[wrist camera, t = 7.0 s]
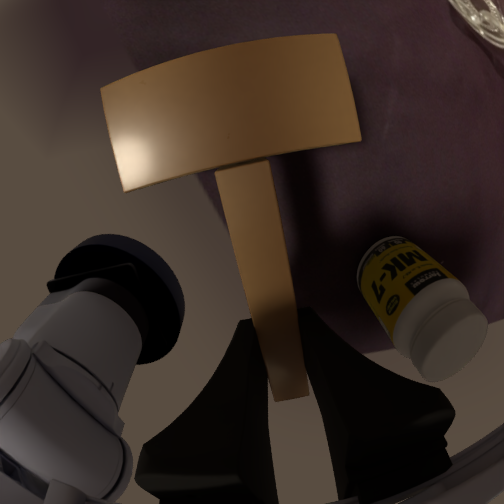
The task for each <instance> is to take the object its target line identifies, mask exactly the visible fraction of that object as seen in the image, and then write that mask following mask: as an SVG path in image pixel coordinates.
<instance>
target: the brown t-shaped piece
mask: <svg viewBox="0 0 504 504" xmlns="http://www.w3.org/2000/svg"><path fill="white" fill-rule="evenodd" d="M100 91H101V96H102V103H103V108H104V113H105V118H106V123H107V128H108V132H109V137H110V141H111V146H112V150H113V154H114V158H115V162H116V165H117V170H118V173H119V177H120V181H121V185H122V188H123V192H124V193H128V192H131V191H134V190H137V189H142V188H145V187H149V186H152V185H155V184H159V183H162V182H166V181H169V180H172V179H176V178H180V177H183V176H187V175H191V174H195V173H199V172H202V171H206V170H210V169H215V168H219V167H220V168H219V169H218V170H217V171H216V172H215V177H216V181H217V185H218V189H219V193H220V197H221V201H222V205H223V209H224V213H225V217H226V221H227V225H228V229H229V233H230V237H231V241H232V245H233V249H234V252H235V257H236V260H237V264H238V268H239V272H240V276H241V280H242V283H243V287H244V291H245V295H246V299H247V302H248V306H249V310H250V314H251V317H252V321H253V325H254V327H255V330H256V334H257V338H258V341H259V345H260V349H261V352H262V356H263V360H264V363H265V367H266V371H267V375H268V379H269V383H270V386H271V390H272V394H273V397H274V401H275V402H279V401H284V400H290V399H295V398H300V397H304V396H308V395H309V387H308V380H307V374H306V373H307V372H306V368H305V363H304V356H303V349H302V342H301V336H300V329H299V323H298V312H297V306H296V300H295V294H294V288H293V282H292V276H291V270H290V264H289V259H288V253H287V248H286V242H285V237H284V231H283V226H282V221H281V216H280V210H279V205H278V200H277V195H276V190H275V185H274V180H273V175H272V171H271V166H270V161H269V160H268V159H266V158H264V157H269V156H274V155H279V154H285V153H290V152H296V151H302V150H308V149H314V148H321V147H328V146H335V145H342V144H348V143H353V142H360V141H361V140H362V138H361V133H360V127H359V122H358V116H357V111H356V107H355V102H354V97H353V93H352V89H351V84H350V80H349V76H348V72H347V68H346V65H345V61H344V57H343V54H342V50H341V47H340V44H339V40H338V37H337V34H309V35H295V36H285V37H276V38H268V39H261V40H255V41H249V42H243V43H237V44H232V45H227V46H223V47H218V48H214V49H210V50H206V51H202V52H198V53H194V54H191V55H187V56H184V57H180V58H177V59H174V60H171V61H167V62H164V63H161V64H158V65H156V66H153V67H150V68H147V69H145V70H142V71H139V72H137V73H134V74H132V75H129V76H127V77H124V78H122V79H120V80H118V81H115V82H113V83H110V84H108V85H106V86H104V87H102V88H100ZM259 158H260V159H259ZM254 159H255V160H254ZM250 160H251V161H250ZM245 161H246V162H245ZM240 162H241V163H240ZM236 163H237V164H236ZM231 164H232V165H231ZM227 165H228V166H227ZM223 166H224V167H223Z"/></svg>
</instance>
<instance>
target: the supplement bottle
mask: <svg viewBox="0 0 504 504" xmlns="http://www.w3.org/2000/svg"><path fill="white" fill-rule="evenodd" d="M357 284H358V287H359V290H360V292H361V293H362V295H363V297H364V298H365V300H366V301H367V303H368V304H369V306H370V307H371V309H372V311H373V312H374V314H375V315H376V317H377V319H378V320H379V322H380V323H381V325H382V327H383V328H384V330H385V331H386V333H387V335H388V336H389V338H390V340H391V341H392V343H393V345H394V346H395V348H396V349H397V351H398V352H399V353H400V354H401V355H403V356H404V357H406V358H409V359H411V360H412V362H413V364H414V366H415V367H416V368H417V369H418V371H419V373H420V374H421V376H422V377H423V378H424V379H425V380H426V381H429V382H438V381H442V380H445V379H447V378H449V377H451V376H452V375H454V374H456V373H457V372H458V371H460V370H461V369H462V368H464V367H465V366H466V365H467V364H468V363H469V362H470V361H471V360H472V358H473V357H474V356H475V355H476V353H477V352H478V350H479V349H480V347H481V346H482V344H483V342H484V340H485V337H486V334H487V329H488V322H487V319H486V317H485V316H484V315H483V313H482V312H481V311H480V310H479V309H478V308H477V307H476V306H475V305H474V304H473V303H472V302H471V301H470V299H469V294H468V291H467V289H466V288H465V286H464V285H463V284H462V283H461V282H460V281H459V280H458V279H457V278H456V277H454V276H453V275H452V274H451V273H450V272H449V271H447V270H446V269H445V268H444V267H443V266H441V265H440V264H439V263H438V262H437V261H435V260H434V259H433V258H432V257H430V256H429V255H428V254H427V253H425V252H424V251H423V250H422V249H420V248H419V247H418V246H416V245H415V244H414V243H413V242H411V241H410V240H408V239H406V238H403V237H399V236H391V237H386V238H384V239H381V240H379V241H378V242H376V243H375V244H374V245H372V246H371V247H370V248H369V249H368V251H367V252H366V253H365V254H364V256H363V258H362V259H361V261H360V263H359V266H358V270H357Z"/></svg>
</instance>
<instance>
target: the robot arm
mask: <svg viewBox="0 0 504 504" xmlns="http://www.w3.org/2000/svg"><path fill="white" fill-rule="evenodd" d="M121 269H124V270H125V271H126V273H124V272H122V270H121ZM58 284H59V285H58ZM47 288H48V290H49V293H50V294H49V295H48V296H47V297H46V298H45V299H44V300H43V301H42V302H41V303H40V305H39V306H38V307H37V308H36V309H35V310H34V311H33V312H32V313H31V314H30V315H29V316H28V318H27V319H26V320H25V321H24V322H23V323H22V324H21V325H20V327H19V328H18V329H17V331H16V332H15V334H14V337H13V339H12V338H11V339H7V340H5V341H4V342H2V343H1V344H0V504H119V503H115V501H116V500H117V499H118V498H119V497H120V496H121V495H122V494H123V492H124V491H125V489H126V488H127V486H128V483H129V481H130V478H131V475H132V469H133V457H132V453H131V450H130V447H129V446H128V444H127V442H126V441H125V440H124V439H123V438H122V437H121V434H122V430H123V427H124V424H125V423H124V422H123V421H122V420H121V419H120V418H119V416H118V412H119V409H120V406H121V403H122V400H123V397H124V394H125V392H126V389H127V386H128V384H129V381H130V378H131V376H132V373H133V370H134V368H135V365H136V363H137V360H138V357H139V355H140V352H141V351H143V350H154V349H164V348H166V347H167V340H166V338H165V336H164V334H163V331H162V329H161V327H160V325H159V323H158V320H157V318H156V316H155V314H154V311H153V309H152V307H151V305H150V302H149V300H148V297H147V295H146V293H145V290H144V288H143V285H142V283H141V280H140V278H139V275H138V273H137V270H136V267H135V266H134V265H133V264H132V263H130V262H127V263H123V264H118V265H114V266H109V267H105V268H100V269H96V270H91V271H87V272H83V273H78V274H74V275H70V276H65V277H61V278H57V279H52V280H49V281H48V282H47ZM297 312H298V323H299V329H300V336H301V342H302V349H303V356H304V363H305V368H306V371H307V374H308V377H309V380H310V383H311V385H312V388H313V391H314V394H315V397H316V399H317V403H318V405H319V408H320V412H321V415H322V418H323V423H324V427H325V432H326V436H327V441H328V446H329V451H330V456H331V461H332V465H333V471H334V476H335V482H336V487H337V493H338V499H339V501H335V502H331V503H327V504H395V503H397V502H399V501H402V500H404V501H402V502H400V503H398V504H487V503H489V502H490V501H491V500H493V499H494V498H495V497H497V496H498V495H499V494H501V493H502V492H503V491H504V423H503V424H502V425H501V426H500V427H498V428H496V429H495V430H494V431H492V432H491V433H489V434H488V435H486V436H485V437H484V438H482V439H480V440H479V441H477V442H476V443H474V444H473V445H471V446H469V447H468V448H466V449H464V450H463V451H461V452H459V453H457V454H456V455H454V456H452V457H449V455H448V453H447V451H446V449H445V447H447V441H446V439H445V438H444V435H445V433H446V432H447V430H448V429H449V427H450V426H451V424H452V422H453V420H454V417H455V410H454V408H453V406H452V405H451V403H450V401H449V400H448V398H447V397H446V396H445V395H444V393H443V392H442V391H441V390H440V389H439V388H436V387H433V386H429V385H426V384H422V383H419V382H416V381H413V380H410V379H407V378H405V377H403V376H400V375H398V374H396V373H394V372H392V371H390V370H388V369H385V368H383V367H382V366H380V365H378V364H376V363H375V362H373V361H371V360H370V359H368V358H367V357H365V356H364V355H362V354H361V353H359V352H358V351H357V350H355V349H354V348H353V347H351V346H350V345H349V344H348V343H346V342H345V341H344V340H343V339H342V338H340V337H339V336H338V335H337V334H336V333H335V332H334V331H333V330H332V329H331V328H330V327H329V326H328V325H327V324H326V323H325V322H324V321H323V320H322V319H321V318H320V317H319V316H318V314H317V313H316V312H315V311H314V309H313V308H312V307H310V306H309V307H304V308H300V309H297ZM155 343H157V344H155ZM134 479H135V481H136V483H137V484H138V485H139V486H140V487H141V488H143V489H144V490H145V491H147V492H149V493H150V494H152V495H153V496H155V497H157V498H158V499H160V502H159V504H279V502H278V496H277V489H276V482H275V475H274V468H273V461H272V453H271V445H270V437H269V429H268V375H267V371H266V367H265V363H264V360H263V356H262V352H261V349H260V345H259V341H258V338H257V334H256V330H255V327H254V325H253V321H252V318H250V319H245V320H240V321H239V323H238V325H237V328H236V330H235V333H234V335H233V338H232V340H231V342H230V345H229V347H228V349H227V351H226V353H225V355H224V357H223V359H222V360H221V362H220V364H219V366H218V367H217V369H216V371H215V372H214V374H213V376H212V377H211V379H210V380H209V382H208V383H207V384H206V386H205V387H204V388H203V390H202V391H201V392H200V394H199V395H198V396H197V397H196V398H195V400H194V401H193V402H192V403H191V404H190V405H189V407H188V408H187V409H186V410H185V411H184V412H183V413H182V414H181V415H180V416H179V417H177V418H176V419H175V420H174V421H173V422H172V423H171V424H170V425H169V426H168V427H166V428H165V429H164V430H163V431H161V432H160V433H159V434H157V435H156V436H154V437H153V438H152V439H151V440H149V441H148V442H146V443H145V444H143V447H142V450H141V453H140V456H139V460H138V464H137V469H136V474H135V478H134ZM409 497H410V498H409ZM407 498H408V499H407ZM405 499H406V500H405Z"/></svg>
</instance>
